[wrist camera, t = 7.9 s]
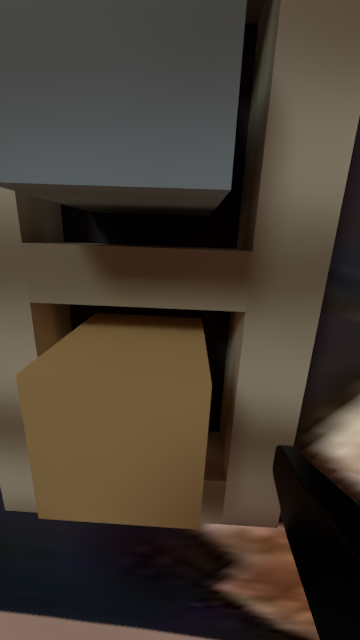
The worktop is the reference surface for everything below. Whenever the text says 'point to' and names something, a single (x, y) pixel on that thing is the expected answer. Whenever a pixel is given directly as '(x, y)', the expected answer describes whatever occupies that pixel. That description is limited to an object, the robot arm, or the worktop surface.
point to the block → (120, 421)
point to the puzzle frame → (176, 198)
